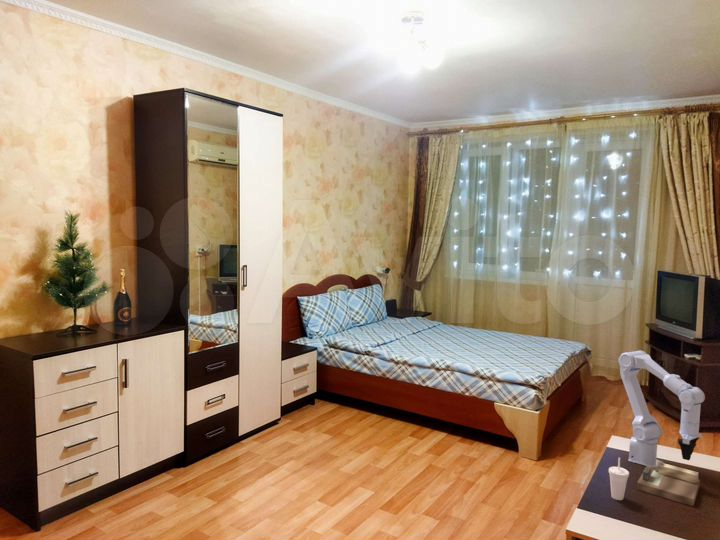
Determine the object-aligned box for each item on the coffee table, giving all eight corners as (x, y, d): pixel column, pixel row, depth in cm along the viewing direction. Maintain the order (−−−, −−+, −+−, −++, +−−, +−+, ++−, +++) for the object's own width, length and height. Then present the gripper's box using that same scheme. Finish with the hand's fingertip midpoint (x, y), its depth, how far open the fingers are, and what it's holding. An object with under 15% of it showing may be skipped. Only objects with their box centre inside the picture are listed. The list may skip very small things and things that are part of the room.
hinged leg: (654, 471, 190) (655, 462, 190) (656, 468, 193) (656, 459, 192) (696, 483, 182) (697, 473, 182) (697, 480, 184) (698, 470, 184)
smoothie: (626, 494, 180) (628, 456, 178) (629, 503, 174) (631, 464, 172) (605, 491, 182) (608, 453, 180) (608, 500, 176) (610, 461, 174)
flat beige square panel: (636, 489, 183) (637, 474, 183) (646, 471, 196) (647, 457, 196) (693, 506, 172) (694, 490, 172) (699, 486, 185) (700, 471, 185)
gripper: (700, 429, 179) (697, 466, 180) (705, 417, 190) (702, 452, 192) (677, 424, 184) (674, 460, 185) (683, 413, 195) (680, 447, 196)
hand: (687, 456), depth 188 cm, fingers open, 6 cm apart
